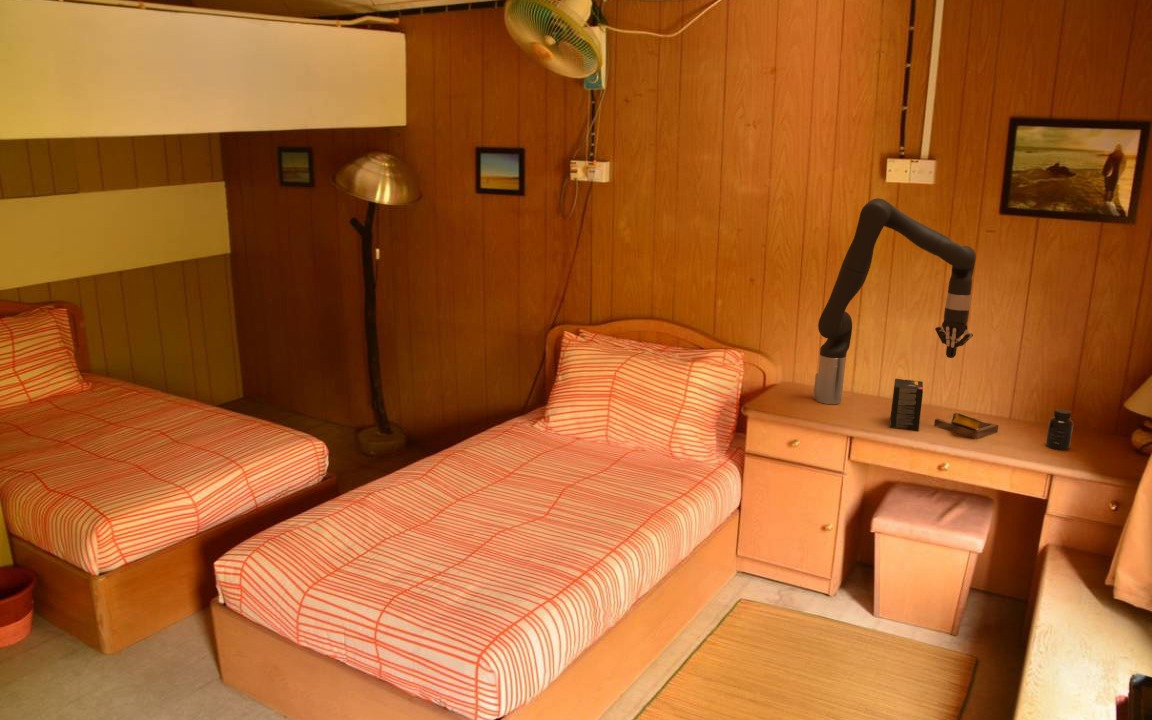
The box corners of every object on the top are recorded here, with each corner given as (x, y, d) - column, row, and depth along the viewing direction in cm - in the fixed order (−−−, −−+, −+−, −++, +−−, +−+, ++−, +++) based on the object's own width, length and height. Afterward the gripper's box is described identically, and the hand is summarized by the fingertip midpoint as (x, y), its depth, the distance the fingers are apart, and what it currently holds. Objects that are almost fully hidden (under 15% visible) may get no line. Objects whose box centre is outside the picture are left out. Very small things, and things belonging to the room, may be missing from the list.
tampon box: (918, 431, 304) (924, 389, 300) (889, 428, 307) (894, 386, 303) (918, 421, 314) (923, 380, 310) (889, 418, 317) (894, 377, 313)
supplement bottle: (1048, 441, 297) (1054, 406, 294) (1071, 446, 293) (1077, 410, 290) (1043, 447, 292) (1048, 411, 289) (1066, 452, 288) (1072, 415, 285)
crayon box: (950, 423, 308) (954, 421, 297) (953, 415, 308) (958, 412, 297) (972, 431, 306) (978, 429, 295) (976, 422, 306) (981, 420, 295)
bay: (934, 425, 310) (934, 419, 309) (954, 419, 317) (955, 412, 316) (976, 439, 298) (977, 432, 297) (997, 431, 305) (998, 425, 304)
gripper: (932, 304, 307) (926, 354, 311) (969, 311, 296) (962, 363, 301) (945, 302, 311) (939, 351, 316) (982, 309, 301) (974, 360, 305)
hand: (950, 357), depth 308 cm, fingers closed
